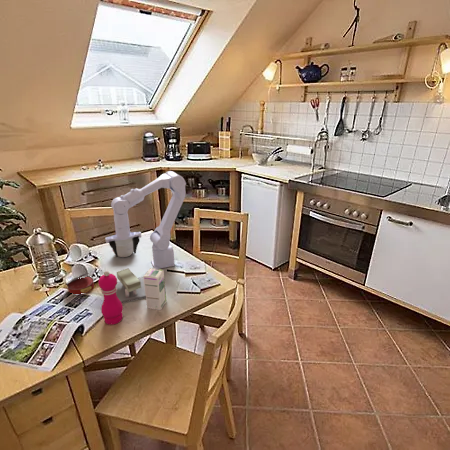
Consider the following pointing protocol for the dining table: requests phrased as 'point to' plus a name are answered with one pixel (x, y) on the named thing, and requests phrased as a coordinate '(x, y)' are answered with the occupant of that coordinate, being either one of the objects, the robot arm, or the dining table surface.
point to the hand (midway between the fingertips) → (125, 254)
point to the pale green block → (128, 280)
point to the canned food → (80, 284)
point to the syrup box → (155, 288)
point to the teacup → (124, 247)
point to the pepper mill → (110, 299)
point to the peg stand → (130, 296)
